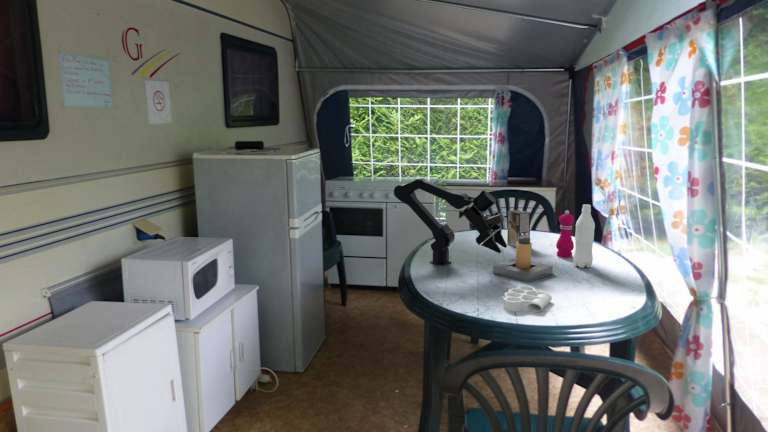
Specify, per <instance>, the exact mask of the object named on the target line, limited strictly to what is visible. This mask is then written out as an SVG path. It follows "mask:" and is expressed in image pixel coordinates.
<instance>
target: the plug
mask: <svg viewBox="0 0 768 432" xmlns="http://www.w3.org/2000/svg"><path fill="white" fill-rule="evenodd" d="M532 244H533V243H532V242H531V237H528V234H527V233H525V236H524V234H523V233H521V237H518V242H517V243H516V247H515V258H516V263H515V267H517V268H521V269H525V270H527V269H529V268H530V265H531V261H532V247H533V246H532Z"/></svg>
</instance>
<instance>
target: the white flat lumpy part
mask: <svg viewBox="0 0 768 432" xmlns="http://www.w3.org/2000/svg"><path fill="white" fill-rule="evenodd" d="M552 298H553V297H552V295H550V294H549V293H548V292H545V291H539V290H536V288H535V287H533V286H530V285H518V286H516V287H513V288H510V289H508V290H507V291H506V292H504V295H502V296H501V297H499V299H501V300H502V303H503V304H502V308H503V309H504V310H506V311H509V312H522V311H530V312H535V313H539V312H541V311H543V309H544V308H545V307H546V306H548V303H550V302H551V301H552Z"/></svg>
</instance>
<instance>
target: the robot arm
mask: <svg viewBox="0 0 768 432" xmlns="http://www.w3.org/2000/svg"><path fill="white" fill-rule="evenodd" d="M393 189H394V190H393V196H394V197H395V198H396V199H397V200H398V201H399V202H401V203H403V204H405V205H407V206H408V207H409V208H410V209H411V210H412V211H413V212H414V213H415V214H416V216H417V217H418V218H419V219H420V220H421V221H422V222H423V223H424V224H425V226H426V227H427V228H428V229H429V230H430V231H431V234H432V235H431V236H432V237H433V239H434V241H433V242H432V243H431V244H430V248H431V251H432V260H430V261H429V263H430V264H431V263H432V264H434V265H438V266H443V265H448V264H451V263H452V261H451V260H450V250H449V249H450V248H449V247H450V246H451V244H452V243H454V241H455V233H454V230H453V229H451V228H450V226H449V225H448V224H447V223H445V224H441V223H440V222H439V221H438V219H436V218H435V217H434V215H432V214H431V212H430V211H429V210H428V209H427V208H426V207H425V206H424V204H423V203H421V201H420V200H419V199H418V197H417V194H416V192H415V191H418V190H419V189H420V190H421V191H424V192H426V193H429V194H431V195H432V196H435V197H437V198H440V199H442V200H444V201H445V202H446V203H447V204H449V206H451V207H453V208H454V209H456V210H459V211H458V219H462V218H463V217H465V219H466V220H467V221H468V222H469V223H470V224H471V228H472V229H473V230H474V229H475V230H476V231H477V232H478V235H477V236H476V238H475V242H476V245H477V244H478V246H481V247H485V248H487V249H489V250H492V251H494V252H496V253H498V254H501V253H502V249H501V248H500V247H499V246H501V247H503V248H505V249H506V248H507V247H508V244H507V241H505V238H504V236H503V234H502V232H503V225H502V223H503V222H505V219H504V214H503V213H500V211H496V212H494V213H493V216H491V217H488V215H483V214H482V212H483V213H486V212H487V211H488V210H489V209H490V208H492V207H493V206H494V205H496V203H497V200H496V198H495V197H494V196H493V194H490V193H489V192H487V191H486V189H483V190H482V191H480V192H479V194H478V195H477V196H476V197H474V196H469V195H468V194H467V193H465V192H461V191H457V190H450V189H448V188H445V187H443V186H440V185H438V184H436V183H433V182H431V181H429V180H426V179H425V178H423V177H419V178H416V179H415V180H413V181H411V182H409V183H408V182H407V183H402V184H398V185H396V186H394V188H393ZM464 208H465V209H464ZM461 209H463V210H461Z"/></svg>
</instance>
